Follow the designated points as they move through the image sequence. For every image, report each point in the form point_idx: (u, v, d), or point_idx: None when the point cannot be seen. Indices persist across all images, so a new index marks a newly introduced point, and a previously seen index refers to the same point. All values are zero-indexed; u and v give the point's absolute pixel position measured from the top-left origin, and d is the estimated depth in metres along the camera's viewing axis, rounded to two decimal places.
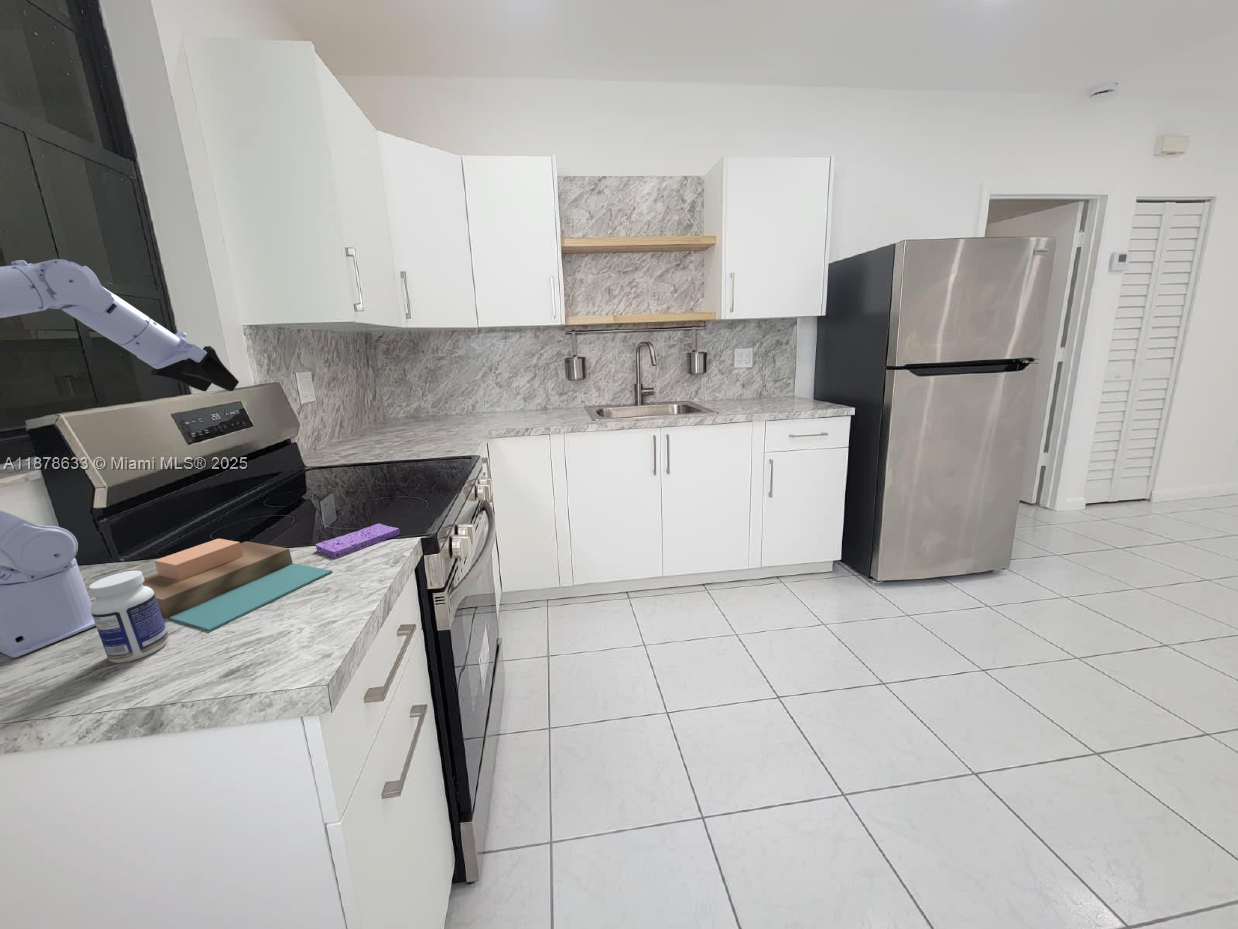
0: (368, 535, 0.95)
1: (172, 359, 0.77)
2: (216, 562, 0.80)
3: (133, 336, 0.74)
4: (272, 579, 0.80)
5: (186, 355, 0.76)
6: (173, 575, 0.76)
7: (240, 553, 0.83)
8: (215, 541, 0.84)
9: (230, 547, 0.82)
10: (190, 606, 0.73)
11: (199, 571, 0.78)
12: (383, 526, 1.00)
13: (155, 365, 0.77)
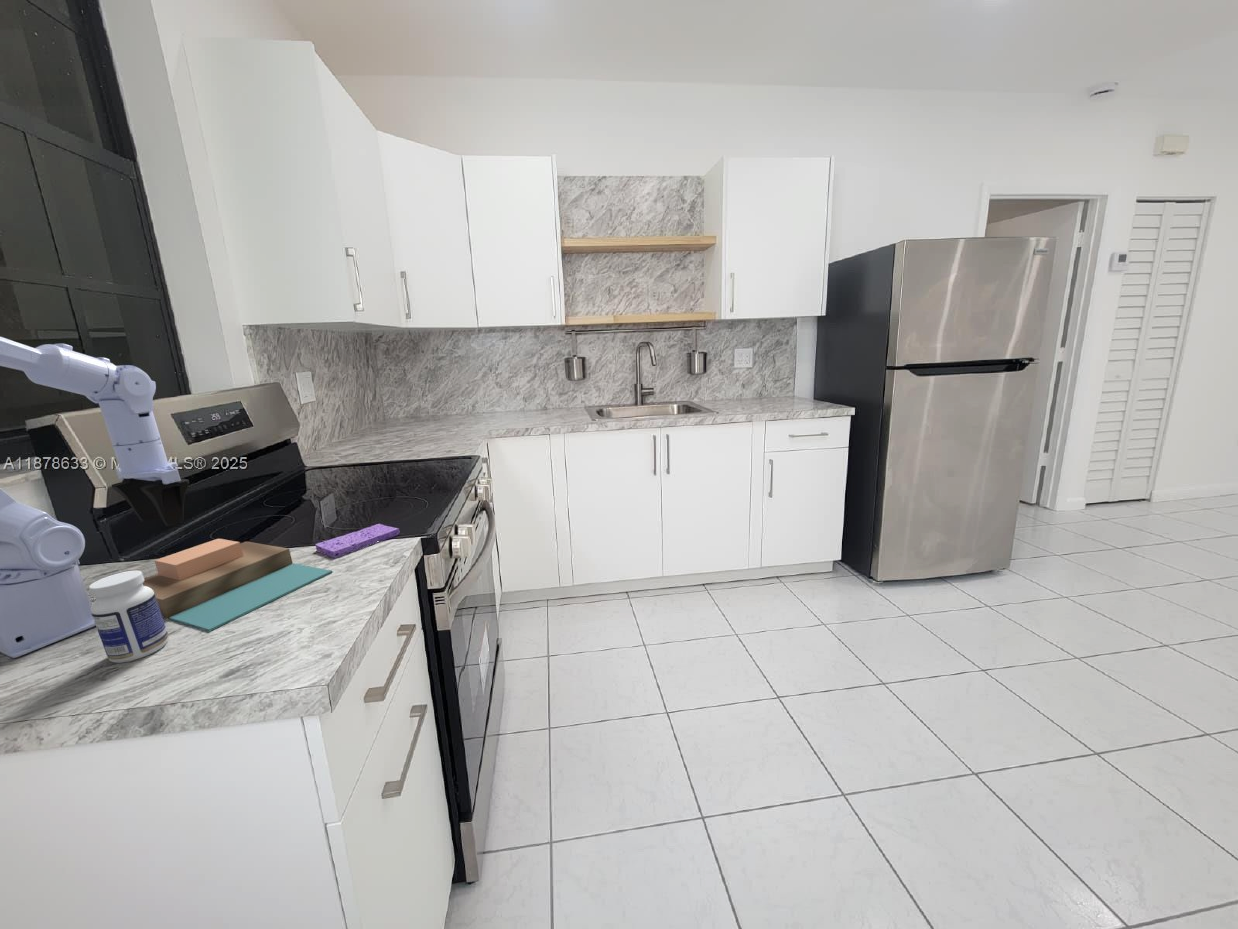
0: (368, 535, 0.95)
1: (144, 473, 0.78)
2: (216, 562, 0.80)
3: (138, 441, 0.78)
4: (272, 579, 0.80)
5: (160, 473, 0.77)
6: (173, 575, 0.76)
7: (240, 553, 0.83)
8: (215, 541, 0.84)
9: (230, 547, 0.82)
10: (190, 606, 0.73)
11: (199, 571, 0.78)
12: (383, 526, 1.00)
13: (124, 474, 0.78)
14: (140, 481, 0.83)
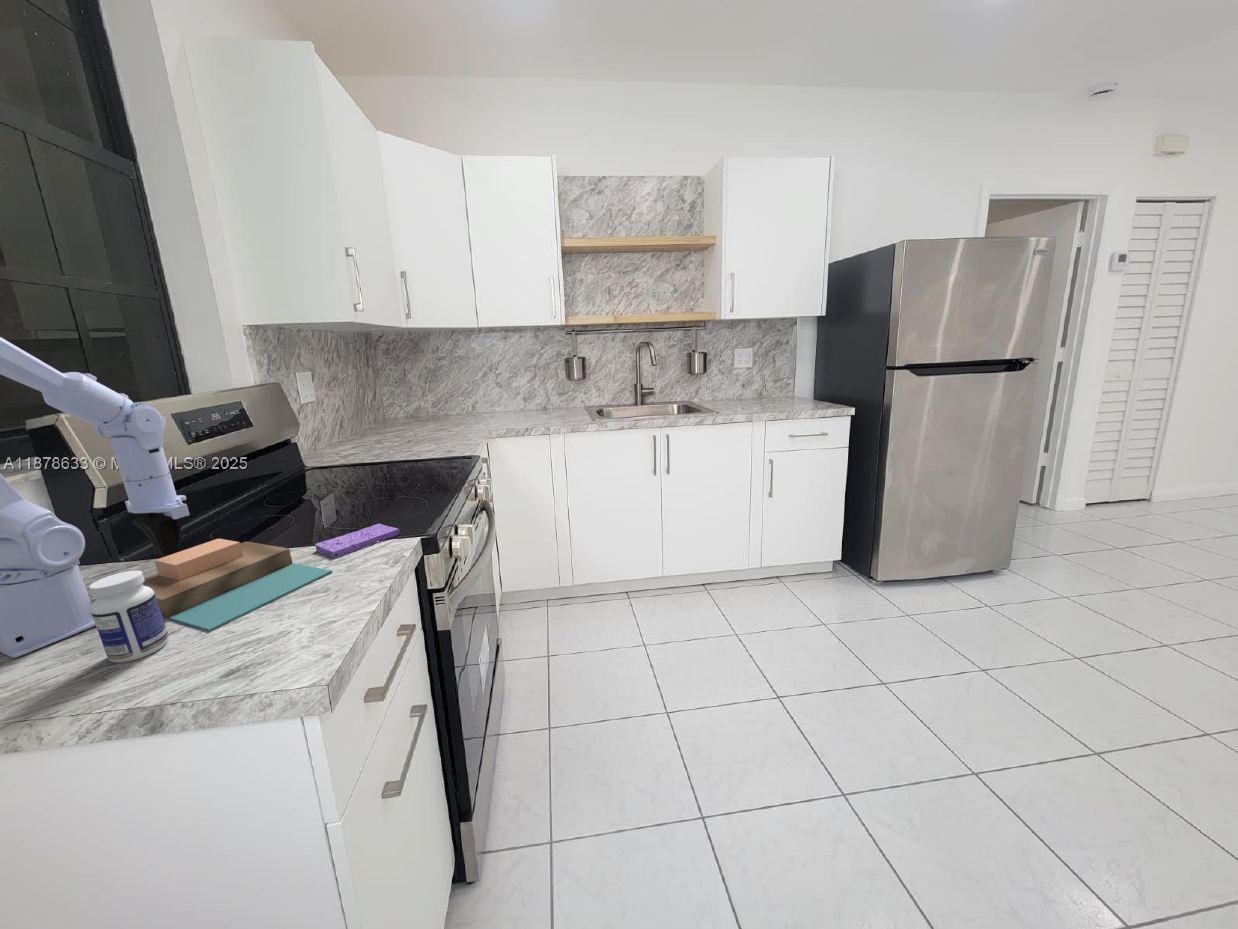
0: (368, 535, 0.95)
1: (154, 508, 0.79)
2: (216, 562, 0.80)
3: (149, 477, 0.79)
4: (272, 579, 0.80)
5: (169, 509, 0.79)
6: (173, 575, 0.76)
7: (240, 553, 0.83)
8: (215, 541, 0.84)
9: (230, 547, 0.82)
10: (190, 606, 0.73)
11: (199, 571, 0.78)
12: (383, 526, 0.99)
13: (134, 509, 0.79)
14: None
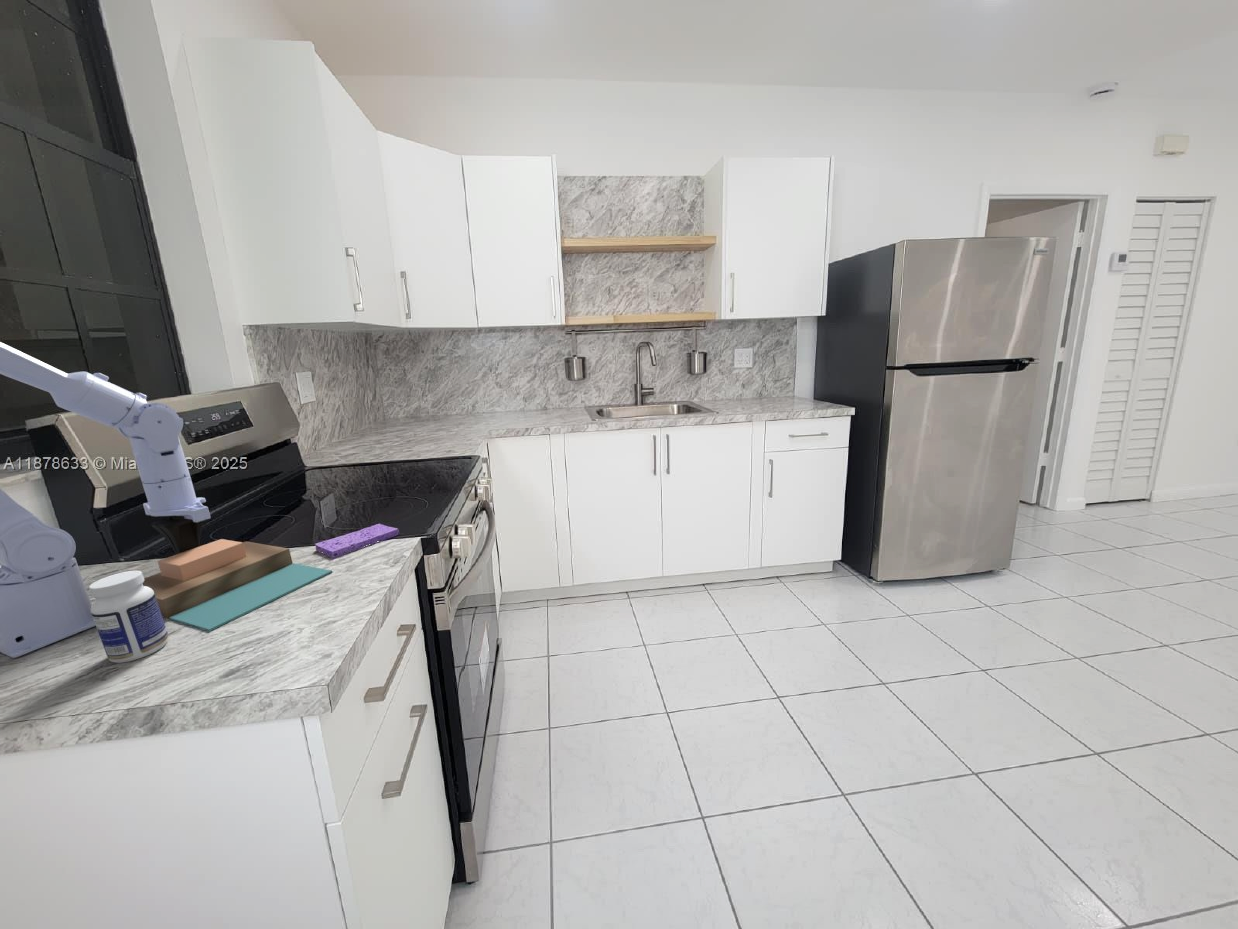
0: (367, 535, 0.95)
1: (174, 511, 0.77)
2: (219, 563, 0.80)
3: (160, 480, 0.76)
4: (272, 579, 0.80)
5: (190, 512, 0.76)
6: (176, 576, 0.76)
7: (243, 554, 0.83)
8: (218, 542, 0.84)
9: (233, 547, 0.82)
10: (190, 606, 0.73)
11: (203, 572, 0.78)
12: (383, 526, 0.99)
13: (154, 512, 0.77)
14: None
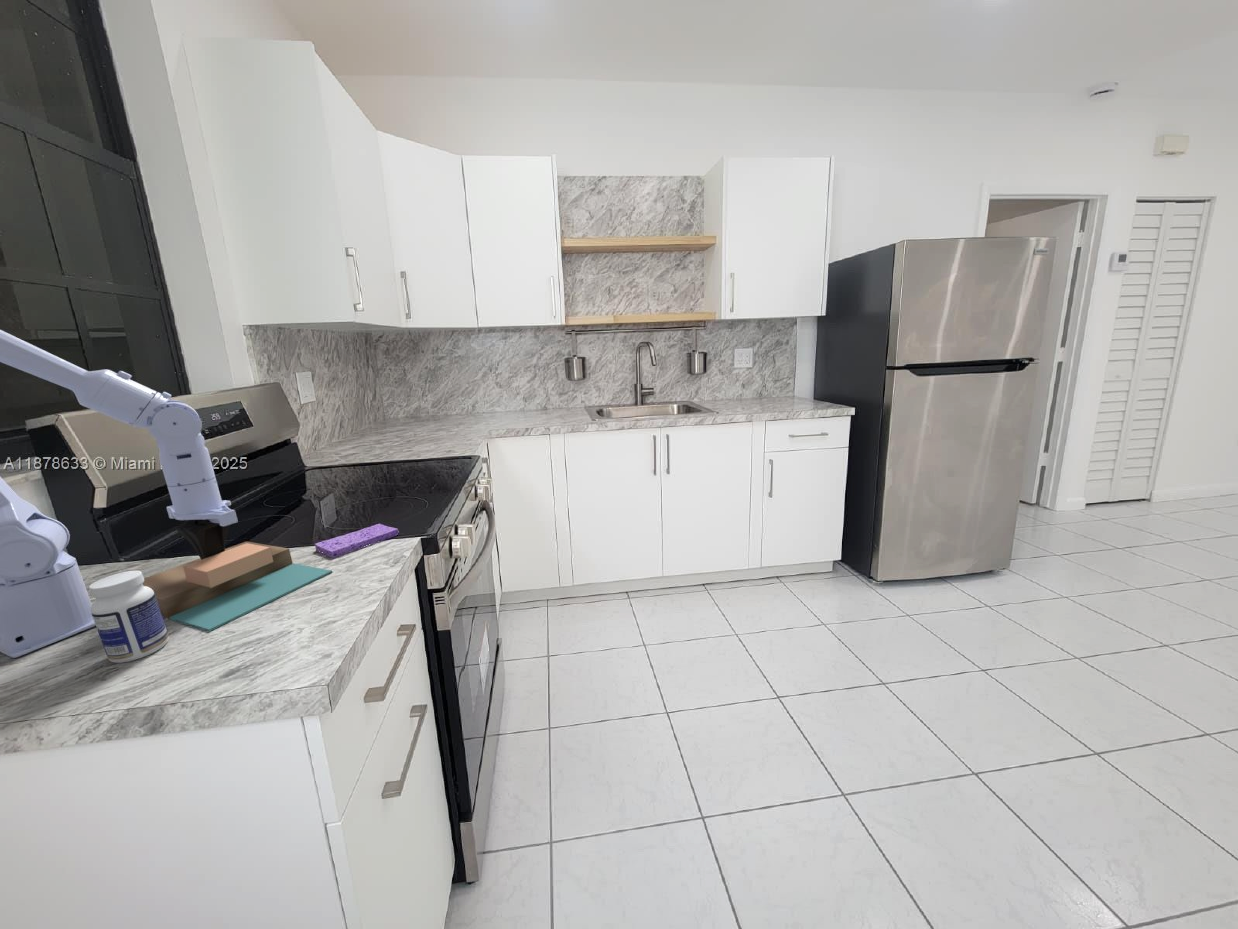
0: (367, 535, 0.95)
1: (201, 515, 0.74)
2: (246, 569, 0.77)
3: (178, 484, 0.73)
4: (272, 579, 0.80)
5: (218, 515, 0.74)
6: (203, 582, 0.73)
7: (270, 559, 0.80)
8: (244, 546, 0.81)
9: (260, 552, 0.79)
10: (190, 606, 0.73)
11: (230, 578, 0.75)
12: (383, 526, 0.99)
13: (179, 515, 0.74)
14: None
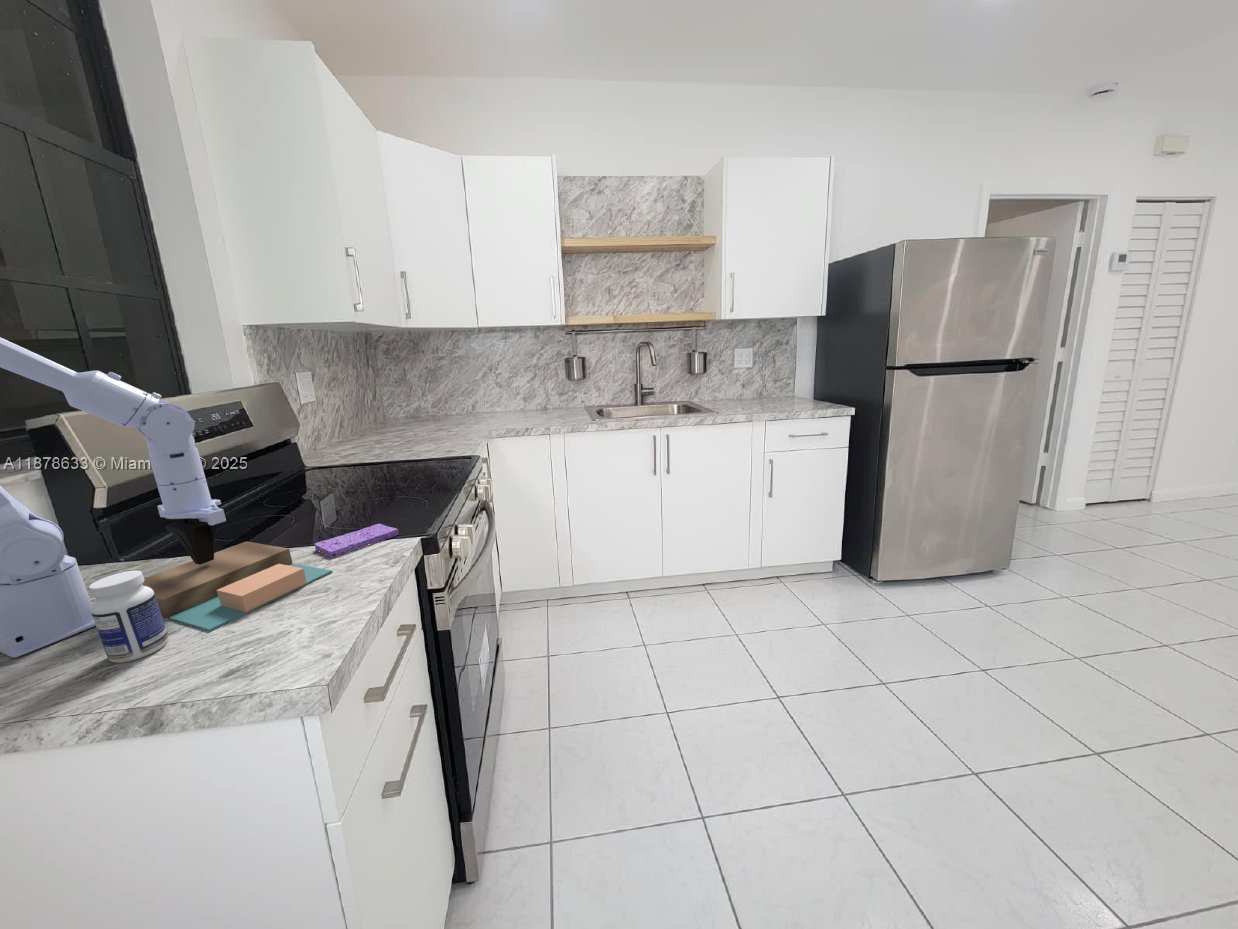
0: (367, 535, 0.95)
1: (189, 514, 0.75)
2: None
3: (170, 483, 0.74)
4: None
5: (206, 514, 0.75)
6: (224, 595, 0.72)
7: None
8: None
9: None
10: (190, 606, 0.73)
11: None
12: (383, 526, 0.99)
13: (168, 514, 0.75)
14: None
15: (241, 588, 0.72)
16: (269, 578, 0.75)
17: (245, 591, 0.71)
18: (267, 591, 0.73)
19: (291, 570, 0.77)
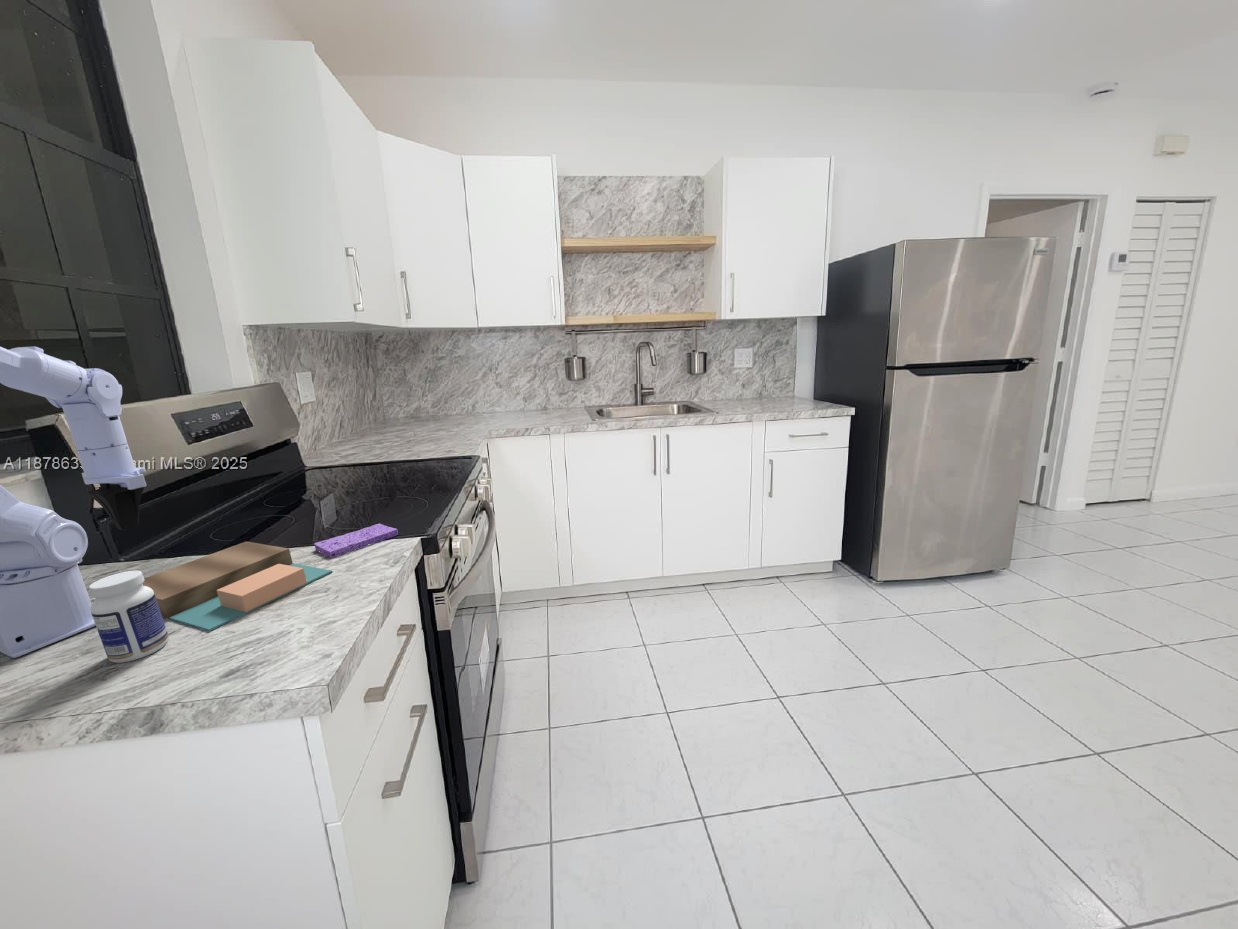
0: (366, 535, 0.95)
1: (109, 478, 0.76)
2: None
3: (109, 445, 0.77)
4: None
5: (125, 479, 0.76)
6: (224, 595, 0.72)
7: None
8: None
9: None
10: (190, 606, 0.73)
11: None
12: (383, 526, 0.99)
13: (88, 479, 0.77)
14: None
15: (241, 588, 0.72)
16: (269, 578, 0.75)
17: (245, 591, 0.71)
18: (267, 591, 0.73)
19: (291, 570, 0.77)
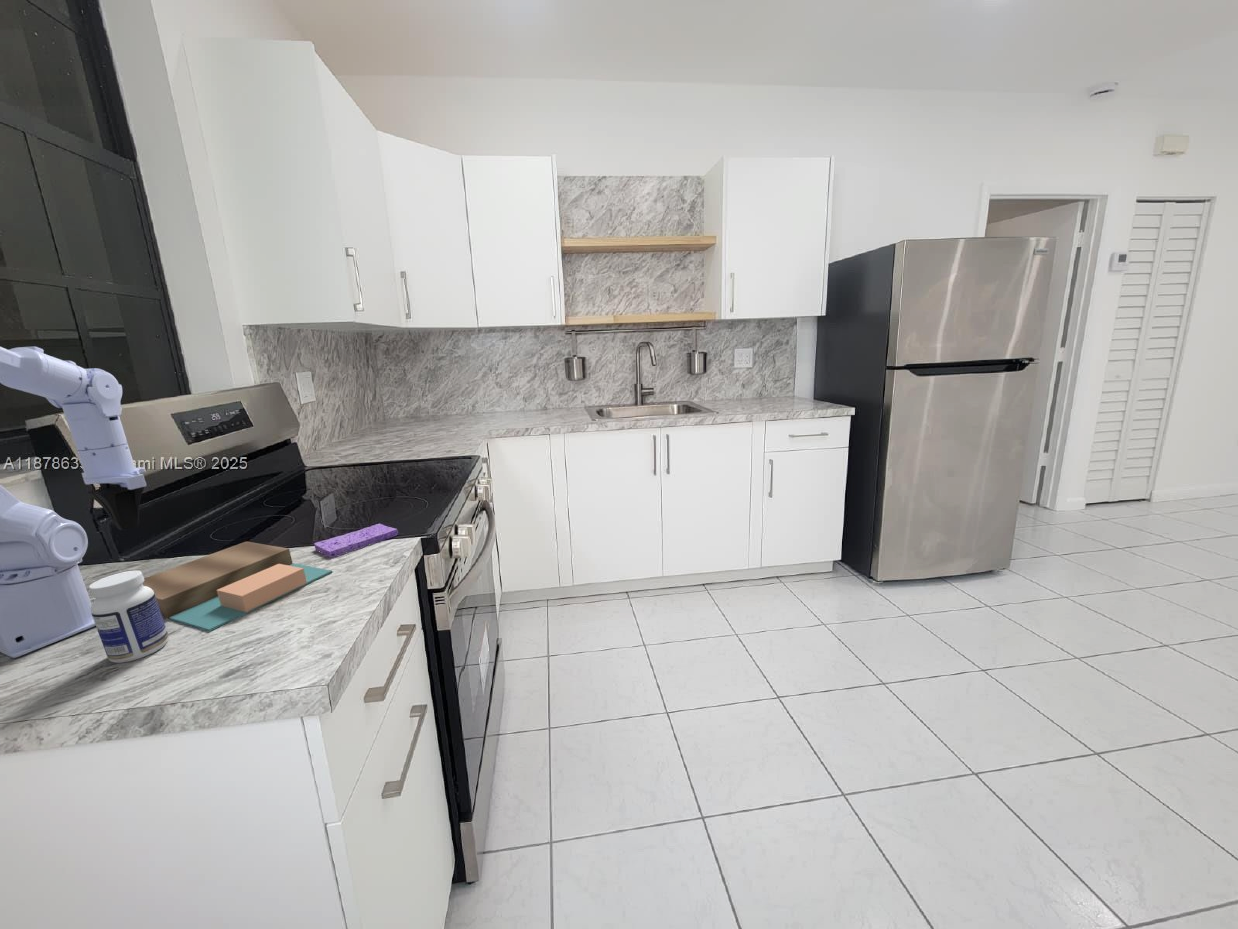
0: (366, 535, 0.95)
1: (109, 478, 0.76)
2: None
3: (109, 445, 0.77)
4: None
5: (125, 479, 0.76)
6: (224, 595, 0.72)
7: None
8: None
9: None
10: (190, 606, 0.73)
11: None
12: (383, 526, 0.99)
13: (88, 479, 0.77)
14: None
15: (241, 588, 0.72)
16: (269, 578, 0.75)
17: (245, 591, 0.71)
18: (267, 591, 0.73)
19: (291, 570, 0.77)
